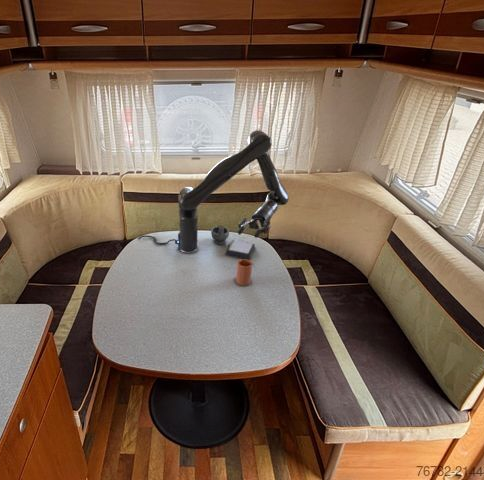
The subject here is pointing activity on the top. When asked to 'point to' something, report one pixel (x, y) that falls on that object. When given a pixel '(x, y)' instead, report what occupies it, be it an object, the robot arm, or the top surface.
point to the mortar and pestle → (220, 234)
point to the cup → (244, 272)
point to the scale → (240, 249)
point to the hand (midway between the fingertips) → (246, 234)
